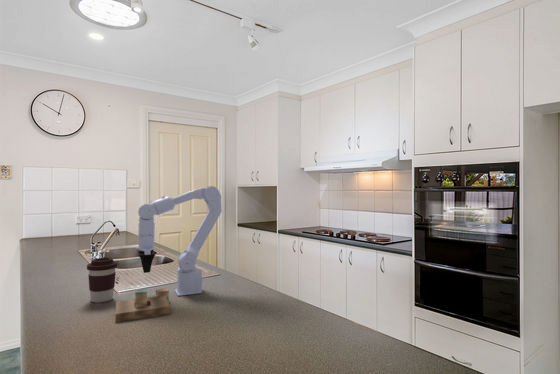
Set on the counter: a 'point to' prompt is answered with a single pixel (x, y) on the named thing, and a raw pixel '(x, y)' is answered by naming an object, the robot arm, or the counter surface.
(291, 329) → the counter surface
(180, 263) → the robot arm
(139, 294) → the square peg
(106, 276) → the coffee cup
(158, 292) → the tan cubic piece
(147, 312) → the hole board
